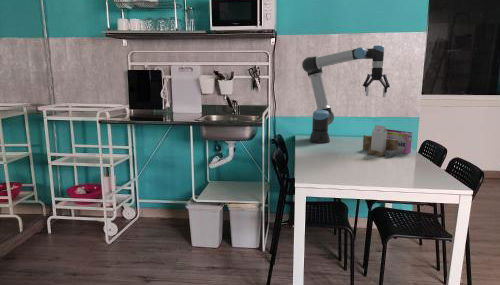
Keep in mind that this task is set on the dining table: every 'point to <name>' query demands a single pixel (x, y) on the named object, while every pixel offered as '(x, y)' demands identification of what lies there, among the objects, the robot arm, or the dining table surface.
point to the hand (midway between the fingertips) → (375, 96)
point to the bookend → (390, 153)
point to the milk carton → (379, 139)
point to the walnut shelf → (367, 146)
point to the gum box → (401, 140)
